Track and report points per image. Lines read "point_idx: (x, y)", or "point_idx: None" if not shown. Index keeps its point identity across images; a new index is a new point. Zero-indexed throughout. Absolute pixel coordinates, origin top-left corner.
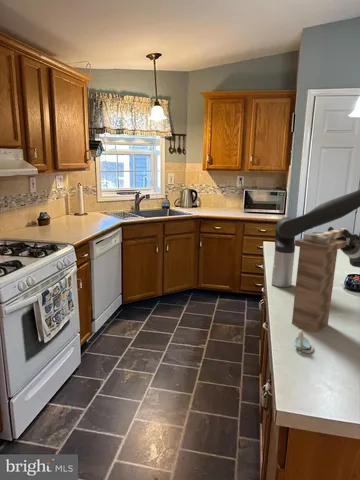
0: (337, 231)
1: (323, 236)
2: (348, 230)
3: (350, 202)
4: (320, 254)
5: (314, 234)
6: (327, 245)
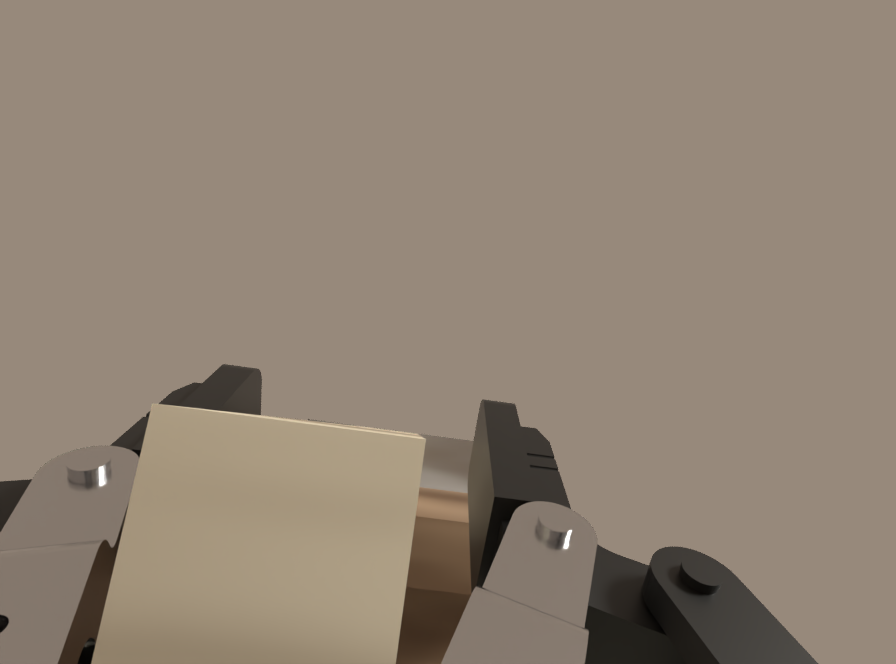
0: (332, 423)
1: (347, 424)
2: (136, 472)
3: None
4: None
5: (419, 434)
6: None
